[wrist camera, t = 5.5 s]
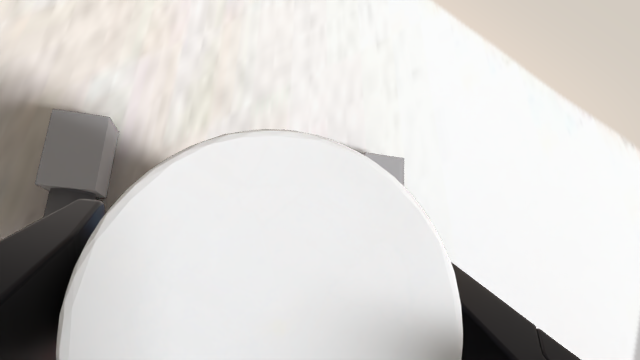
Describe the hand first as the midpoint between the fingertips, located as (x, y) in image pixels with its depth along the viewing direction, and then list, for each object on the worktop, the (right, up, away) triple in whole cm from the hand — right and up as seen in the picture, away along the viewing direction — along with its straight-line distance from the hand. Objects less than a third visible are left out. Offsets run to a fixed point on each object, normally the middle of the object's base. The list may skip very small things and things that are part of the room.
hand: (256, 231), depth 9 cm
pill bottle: (-2, -3, +7) cm, 7 cm away
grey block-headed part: (-9, -3, +7) cm, 12 cm away
